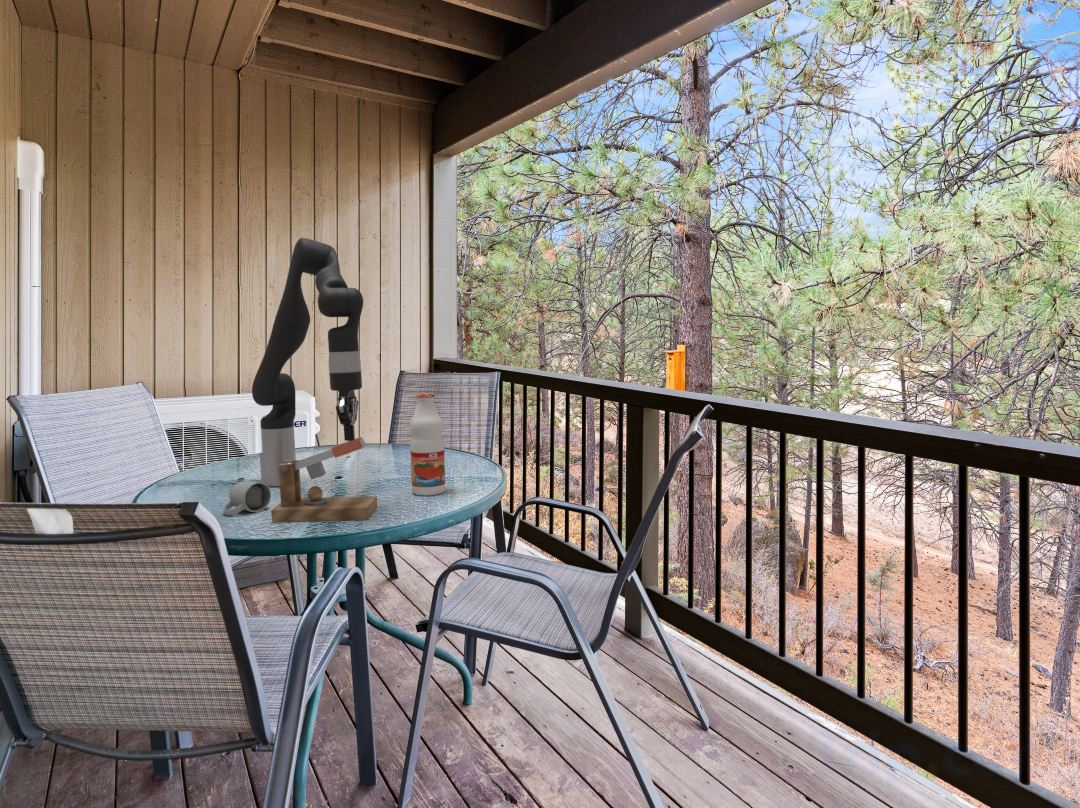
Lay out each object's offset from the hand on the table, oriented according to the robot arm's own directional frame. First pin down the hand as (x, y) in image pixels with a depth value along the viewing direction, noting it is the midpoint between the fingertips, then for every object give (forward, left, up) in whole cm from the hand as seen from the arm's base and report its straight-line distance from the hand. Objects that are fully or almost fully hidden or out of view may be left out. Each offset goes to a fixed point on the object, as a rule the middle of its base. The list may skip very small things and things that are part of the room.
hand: (349, 440), depth 164 cm
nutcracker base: (-6, -2, -19) cm, 20 cm away
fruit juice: (+10, +24, -19) cm, 32 cm away
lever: (-5, -1, -8) cm, 10 cm away
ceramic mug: (-29, -2, -19) cm, 35 cm away
